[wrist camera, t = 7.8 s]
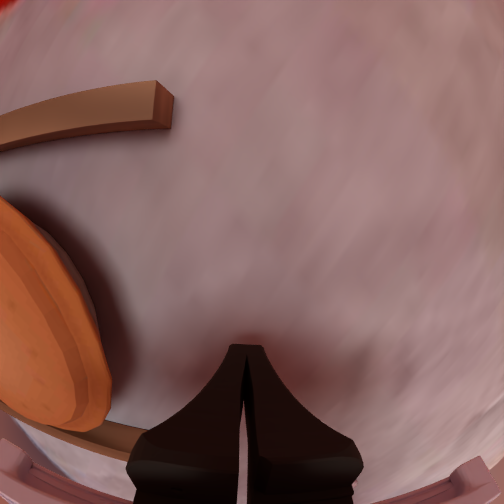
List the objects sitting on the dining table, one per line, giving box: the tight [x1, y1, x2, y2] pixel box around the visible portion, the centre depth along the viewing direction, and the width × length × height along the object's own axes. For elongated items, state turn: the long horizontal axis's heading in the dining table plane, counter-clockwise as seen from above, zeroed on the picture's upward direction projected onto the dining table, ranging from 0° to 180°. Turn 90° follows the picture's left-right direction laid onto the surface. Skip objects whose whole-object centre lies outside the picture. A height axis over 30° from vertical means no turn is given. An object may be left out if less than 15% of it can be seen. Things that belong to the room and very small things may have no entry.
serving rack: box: [0, 80, 174, 462], centre depth 12 cm, size 22×20×2 cm
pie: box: [0, 196, 112, 432], centre depth 11 cm, size 16×16×5 cm
